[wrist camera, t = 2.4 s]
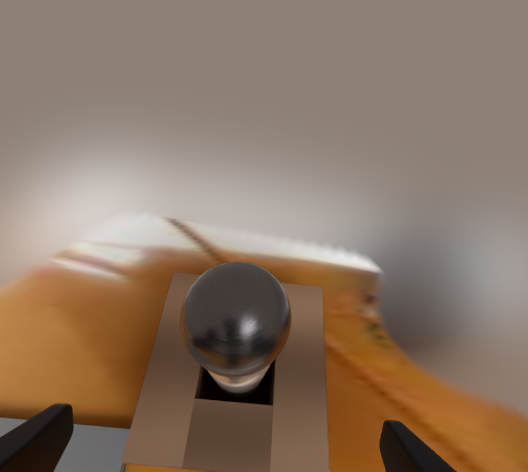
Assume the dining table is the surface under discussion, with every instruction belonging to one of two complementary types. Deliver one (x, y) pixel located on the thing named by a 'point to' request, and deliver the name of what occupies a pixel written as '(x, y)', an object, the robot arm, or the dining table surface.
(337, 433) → the dining table surface
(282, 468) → the block
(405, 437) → the robot arm
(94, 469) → the slate pad
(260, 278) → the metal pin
